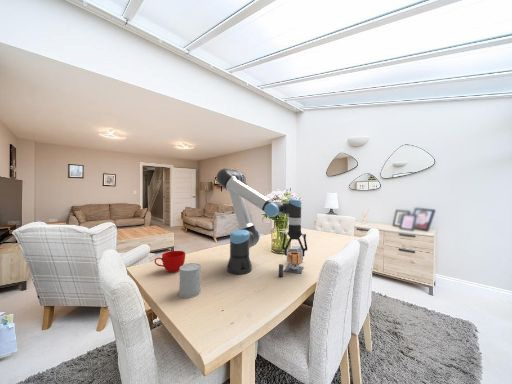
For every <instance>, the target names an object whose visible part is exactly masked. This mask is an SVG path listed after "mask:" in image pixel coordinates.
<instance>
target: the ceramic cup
mask: <svg viewBox="0 0 512 384" xmlns="http://www.w3.org/2000/svg"><path fill="white" fill-rule="evenodd" d="M185 259H186V252H185V251H183V250H169V251H166V252H164V253H162V256H161V257H158V256H157V257H156V258H155V259H154V264H155V265H156V266H158V267H164V269H165V270H166V271H167V272H168V273H177V272H180V266H182V265H185ZM157 260H161V262H162V264H159V263H157Z"/></svg>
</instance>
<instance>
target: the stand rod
mask: <svg viewBox="0 0 512 384" xmlns="http://www.w3.org/2000/svg"><path fill="white" fill-rule="evenodd" d="M278 277H279V278H283V277H284V264H283V263H282V264H278Z"/></svg>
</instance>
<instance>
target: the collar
mask: <svg viewBox="0 0 512 384" xmlns="http://www.w3.org/2000/svg"><path fill="white" fill-rule="evenodd" d="M287 262H288V263H289V264H290V263H292V264H299V265H300V264H302V262H301V253H299V252H288V261H287Z"/></svg>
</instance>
